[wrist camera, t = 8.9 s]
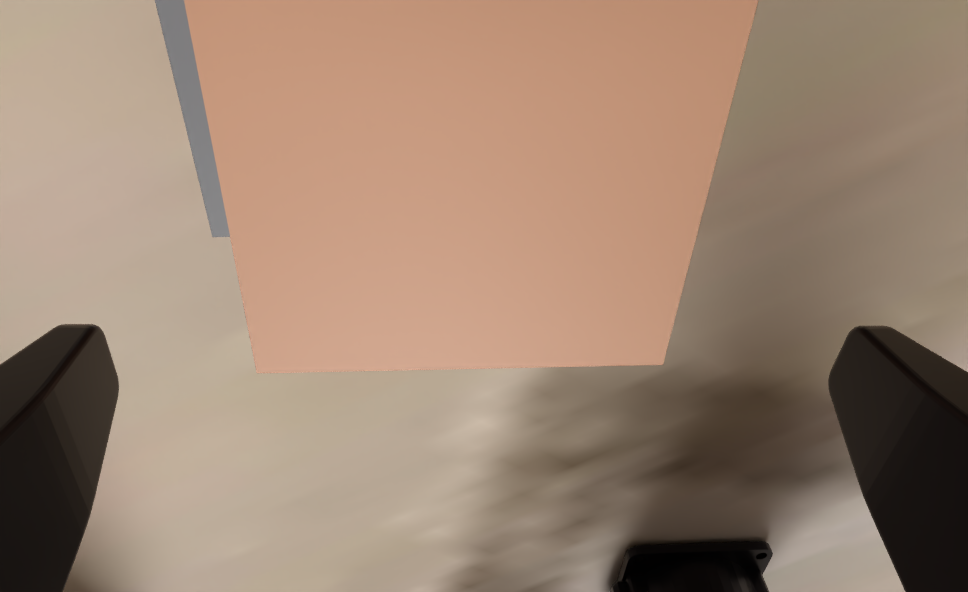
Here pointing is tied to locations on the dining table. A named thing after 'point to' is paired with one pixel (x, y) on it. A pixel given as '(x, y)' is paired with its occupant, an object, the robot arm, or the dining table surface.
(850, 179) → the dining table surface
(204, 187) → the slate grey panel
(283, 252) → the terracotta block
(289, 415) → the dining table surface
